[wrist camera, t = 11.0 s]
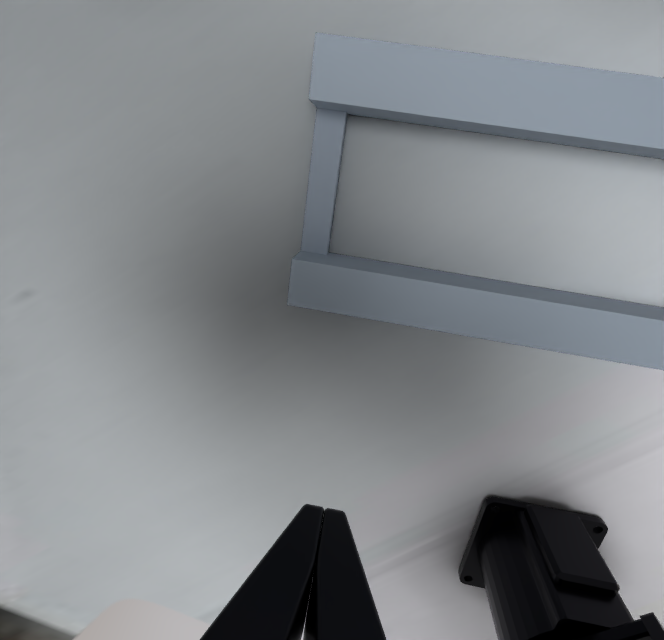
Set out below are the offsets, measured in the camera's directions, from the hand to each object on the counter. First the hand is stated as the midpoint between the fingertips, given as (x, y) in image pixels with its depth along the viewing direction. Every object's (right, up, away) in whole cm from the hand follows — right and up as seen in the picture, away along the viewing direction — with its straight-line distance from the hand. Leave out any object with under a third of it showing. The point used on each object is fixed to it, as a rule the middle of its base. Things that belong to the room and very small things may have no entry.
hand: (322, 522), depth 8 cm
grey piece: (+8, +9, +9) cm, 15 cm away
